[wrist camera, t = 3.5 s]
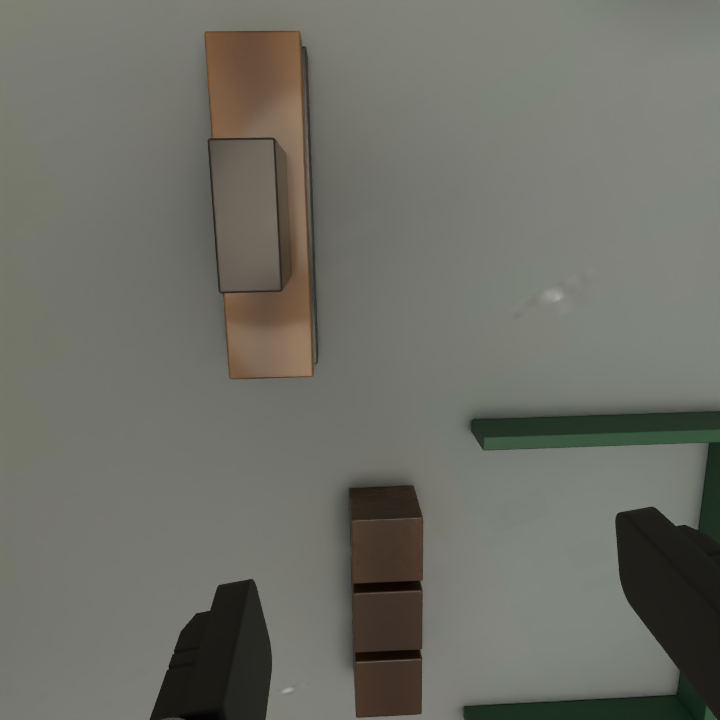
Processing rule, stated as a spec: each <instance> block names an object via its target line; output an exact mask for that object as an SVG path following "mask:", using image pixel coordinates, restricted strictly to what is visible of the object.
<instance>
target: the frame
mask: <svg viewBox="0 0 720 720" xmlns="http://www.w3.org/2000/svg"><path fill="white" fill-rule="evenodd" d="M471 431H472V433H473V435H474V436H475V438H476V439H477V441H478V443H479V444H480V446H481V447H482V449H483V450H509V449H538V448H566V447H594V446H622V445H650V444H678V443H707V442H710V447H709V455H708V463H707V471H706V479H705V486H704V494H703V502H702V510H701V518H700V526H699V531H700V532H702V533H704V534H706V535H709V536H710V537H711V538H712V539H713V540H715V541H716V542H717V543H718V544H719V545H720V412H690V413H660V414H631V415H601V416H571V417H541V418H511V419H481V420H472V430H471ZM464 719H465V720H716V717H715V716H714V715H713V713H712V712H711V711H710V709H709V708H708V707H707V705H706V704H705V703H704V701H703V700H702V699H701V697H700V696H699V695H698V694H697V692H696V691H695V690H694V688H693V687H692V686H691V684H690V683H689V682H688V680H687V679H686V678H685V676H684V675H683V674H682V672H681V674H680V682H679V690H678V696H660V697H642V698H623V699H604V700H585V701H566V702H547V703H528V704H510V705H491V706H472V707H464Z"/></svg>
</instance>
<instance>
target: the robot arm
mask: <svg viewBox="0 0 720 720" xmlns="http://www.w3.org/2000/svg"><path fill="white" fill-rule="evenodd" d="M615 523H616V537H617V549H618V562H619V574H620V581H621V585H622V588H623V591H624V594H625V596H626V598H627V600H628V602H629V604H630V605H631V607H632V608H633V609H634V611H635V612H636V613H637V615H638V616H639V617H640V619H641V620H642V621H643V622H644V624H645V625H646V626H647V628H648V629H649V630H650V632H651V633H652V634H653V636H654V637H655V638H656V640H657V641H658V642H659V644H660V645H661V646H662V647H663V649H664V650H665V651H666V653H667V654H668V655H669V657H670V658H671V659H672V661H673V662H674V663H675V665H676V666H677V667H678V669H679V670H680V671H681V672H682V674H683V675H684V676H685V678H686V679H687V680H688V682H689V683H690V684H691V686H692V687H693V688H694V690H695V691H696V692H697V694H698V695H699V696H700V697H701V699H702V700H703V701H704V703H705V704H706V705H707V707H708V708H709V709H710V711H711V712H712V713H713V715H714V716H715V717H716V718H717V720H720V545H719V544H718V543H717V542H716V541H715V540H713V539H712V538H711V537H710V536H709V535H706V534H704V533H702V532H700V531H697V530H695V529H693V528H691V527H688V526H686V525H681V526H675V525H674V524H673V523H672V522H671V521H669V520H668V519H667V518H666V517H665V516H664V515H663V514H662V513H661V512H660V511H658V510H657V509H656V508H654V507H647V508H642V509H636V510H631V511H625V512H620V513H618V514H617V515H616V521H615ZM271 672H272V654H271V645H270V639H269V635H268V631H267V627H266V623H265V619H264V615H263V611H262V607H261V603H260V599H259V595H258V591H257V587H256V584H255V582H254V580H253V579H249V580H244V581H238V582H233V583H227V584H222V585H219V586H218V587H217V590H216V593H215V596H214V600H213V603H212V606H211V610H210V611H207V612H202V613H196V614H195V616H194V617H193V618H192V619H191V620H190V621H189V623H188V624H187V625H186V626H185V627H184V629H183V630H182V631H181V633H180V636H179V638H178V641H177V644H176V647H175V650H174V654H173V655H172V658H171V661H170V664H169V670H167V672H166V675H165V678H164V681H163V683H162V686H161V689H160V692H159V695H158V698H157V700H156V703H155V706H154V709H153V712H152V714H151V717H150V720H265V719H266V711H267V703H268V696H269V688H270V680H271Z"/></svg>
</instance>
